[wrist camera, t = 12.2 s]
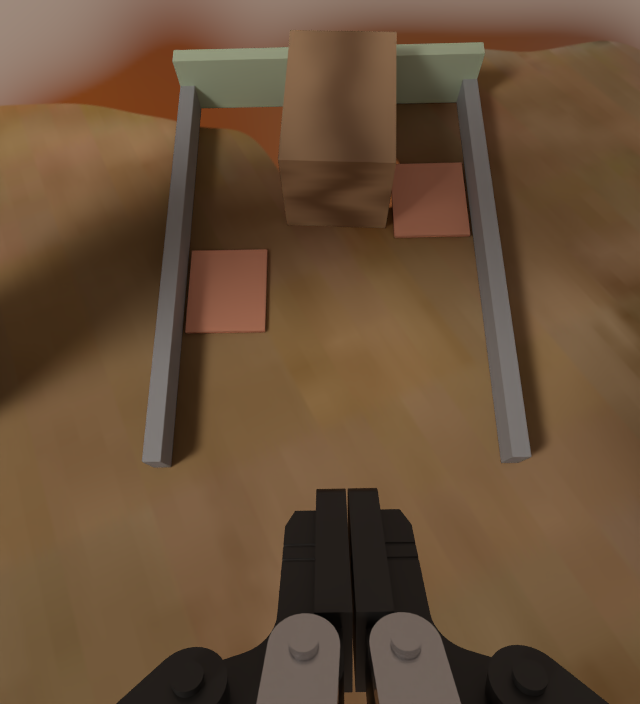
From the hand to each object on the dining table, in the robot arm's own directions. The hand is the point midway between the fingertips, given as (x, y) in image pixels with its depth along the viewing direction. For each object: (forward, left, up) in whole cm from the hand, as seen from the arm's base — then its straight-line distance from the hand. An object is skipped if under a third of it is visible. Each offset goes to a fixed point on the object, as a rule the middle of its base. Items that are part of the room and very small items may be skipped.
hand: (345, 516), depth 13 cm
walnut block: (+1, +30, -24) cm, 38 cm away
